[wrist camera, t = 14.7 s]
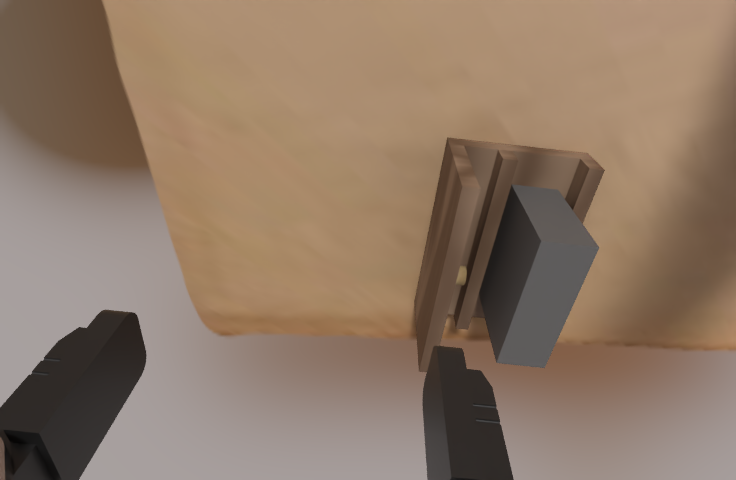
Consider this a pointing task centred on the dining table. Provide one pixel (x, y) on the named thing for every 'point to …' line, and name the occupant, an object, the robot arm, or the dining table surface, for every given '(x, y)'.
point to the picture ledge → (483, 223)
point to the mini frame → (534, 274)
